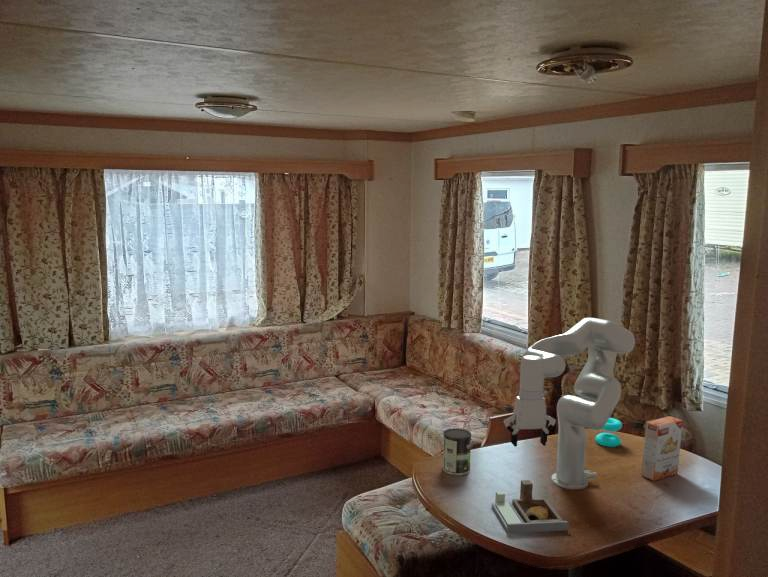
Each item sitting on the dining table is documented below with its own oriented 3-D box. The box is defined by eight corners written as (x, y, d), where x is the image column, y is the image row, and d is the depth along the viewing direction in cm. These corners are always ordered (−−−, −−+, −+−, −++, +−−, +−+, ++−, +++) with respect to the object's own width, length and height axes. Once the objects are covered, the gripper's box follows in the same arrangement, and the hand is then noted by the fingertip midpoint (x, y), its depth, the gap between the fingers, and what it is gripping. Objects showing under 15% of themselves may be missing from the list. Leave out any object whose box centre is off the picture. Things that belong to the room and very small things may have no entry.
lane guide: (547, 505, 210) (547, 496, 209) (567, 531, 194) (567, 521, 193) (491, 507, 208) (492, 498, 207) (507, 534, 191) (507, 524, 191)
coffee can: (471, 465, 241) (472, 429, 239) (469, 476, 231) (470, 439, 229) (443, 462, 243) (444, 427, 241) (440, 473, 233) (441, 436, 231)
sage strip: (505, 502, 211) (505, 490, 210) (523, 530, 193) (524, 518, 192) (492, 502, 210) (492, 491, 210) (509, 531, 192) (509, 518, 192)
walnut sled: (540, 499, 213) (541, 479, 212) (562, 528, 195) (563, 506, 194) (508, 500, 212) (509, 480, 211) (527, 530, 193) (528, 508, 192)
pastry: (533, 509, 207) (533, 498, 207) (553, 516, 203) (554, 504, 203) (522, 521, 199) (523, 510, 199) (543, 528, 196) (544, 516, 195)
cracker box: (654, 482, 228) (659, 426, 226) (640, 476, 234) (644, 421, 231) (679, 474, 236) (683, 419, 233) (664, 468, 241) (668, 414, 238)
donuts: (599, 423, 259) (594, 415, 269) (597, 447, 260) (593, 438, 270) (625, 425, 258) (619, 417, 267) (623, 449, 259) (617, 439, 269)
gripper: (552, 390, 211) (549, 439, 213) (501, 391, 209) (499, 441, 211) (561, 397, 203) (558, 448, 206) (508, 398, 201) (506, 449, 204)
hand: (528, 444), depth 208 cm, fingers open, 9 cm apart
